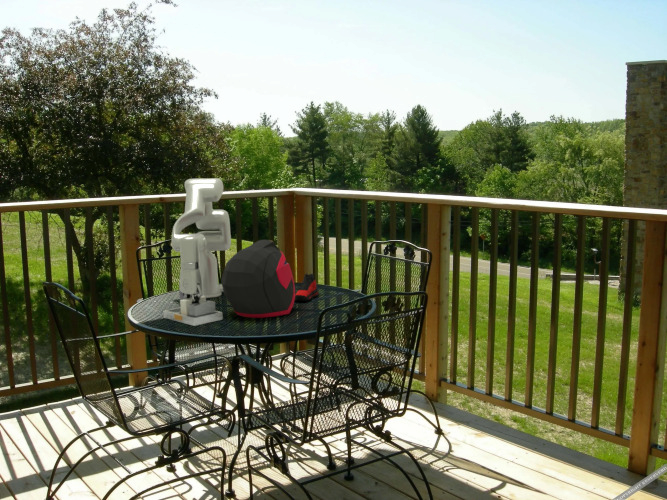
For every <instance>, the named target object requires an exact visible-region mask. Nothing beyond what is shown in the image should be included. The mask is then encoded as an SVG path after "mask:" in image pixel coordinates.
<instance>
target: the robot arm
mask: <svg viewBox="0 0 667 500" xmlns="http://www.w3.org/2000/svg"><path fill="white" fill-rule="evenodd" d="M184 189H185V192H186V194H185V202H184V203H185V204H184V205H185V206H184V213H183V214H181V215H180V216H179V217H178V218H177V220H176V221H175V223H174V225H173V227H172V234H171V247H172V250H173V251H174V252H180V254H179V255H180V271H179V285H180V292H182V293H183V295H184V299H187V298H191V295H192V300H193V301H192V304H194V303H199V300H200V297H201V296H205V297H206V299H209V298H217V297H221V296H222V291H223V286H222V285H219V281H218V279H219V278H218V277H219V276H218V259H217V257H216V256H215V255H214V253H213V251H215V252H217V251H228V250H229V249H231V246H232V235H231V224H230V223H231V222H230V216H229V212H228V211H226V210H224V209H213V202H214V203H215V202H219V201H220V199H221V197H222V196H223V193H224V183H223V181H222V180H221V179H220V178H217V177H215V178H213V177H212V178H210V177H209V178H208V177H207V178H206V177H205V178H200V177H199V178H189V179H186V180H185V181H184ZM192 224H195V225H196V228H197V229H199V230H201V231H198V232H196V233H181V232H182V231H183V230H184V229H185V228H186V227H188V226H191V225H192ZM202 230H203V231H202ZM180 292H179V293H180Z"/></svg>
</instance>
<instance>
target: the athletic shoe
mask: <svg viewBox="0 0 667 500" xmlns="http://www.w3.org/2000/svg"><path fill="white" fill-rule="evenodd" d="M318 296H319V291H318V287H317V281H316V278H315V276H314V273H309V274H308V273H305V274H304V276H303V280H302V282H301V285H300V287H299V289H298V290H297V292H295V300H294V301H298V302H299V301H300V302H309V301H312V299H313V297H314V298H315V297H316V298H317V297H318Z"/></svg>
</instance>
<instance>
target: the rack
mask: <svg viewBox="0 0 667 500" xmlns="http://www.w3.org/2000/svg"><path fill="white" fill-rule="evenodd" d="M162 313H163V318H164V319H167V320H170V321H175V322H178V323H182V324H185V325H190V326H194V327H195V326H200V325H203V324H209V323H212V322H216V321H217V322H218V321H221V320H223V319H224V317H223V312H222V311H218V310H216V301H213V300H206V301H204V302H199V303H194V304H189V314H188V315H182V314H181V307H180V306H179V307H174V308H171V309H170V308H169V309H166V310H163V311H162Z"/></svg>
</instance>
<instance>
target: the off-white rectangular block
mask: <svg viewBox="0 0 667 500" xmlns="http://www.w3.org/2000/svg"><path fill="white" fill-rule="evenodd" d="M192 301H193V300H192V297H191V298H187V299H183V300H180V299H179V307H181V314H182V315H188V314H189V304H192ZM204 301H207V298H206V297H205V296H201V297H200V300H199V302H204Z"/></svg>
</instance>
